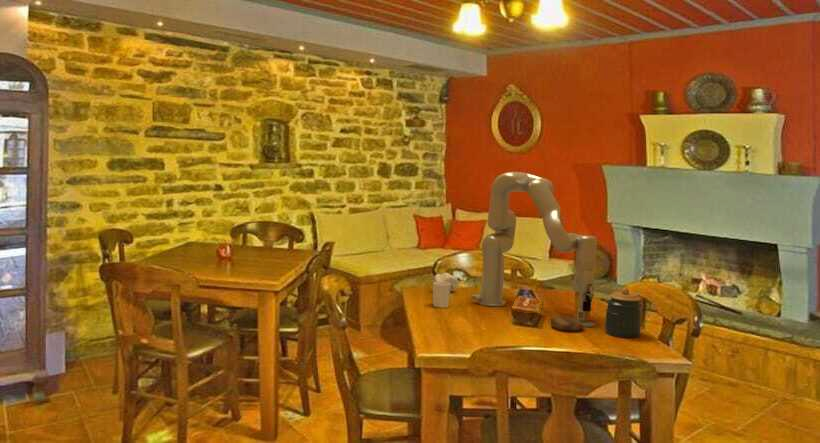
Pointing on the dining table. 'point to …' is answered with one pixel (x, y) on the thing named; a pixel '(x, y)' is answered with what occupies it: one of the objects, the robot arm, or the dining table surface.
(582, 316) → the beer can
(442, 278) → the grey rounded block
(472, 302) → the dining table surface
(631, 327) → the canister
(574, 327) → the stand
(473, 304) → the dining table surface
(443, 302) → the white cup
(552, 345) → the dining table surface
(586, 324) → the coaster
